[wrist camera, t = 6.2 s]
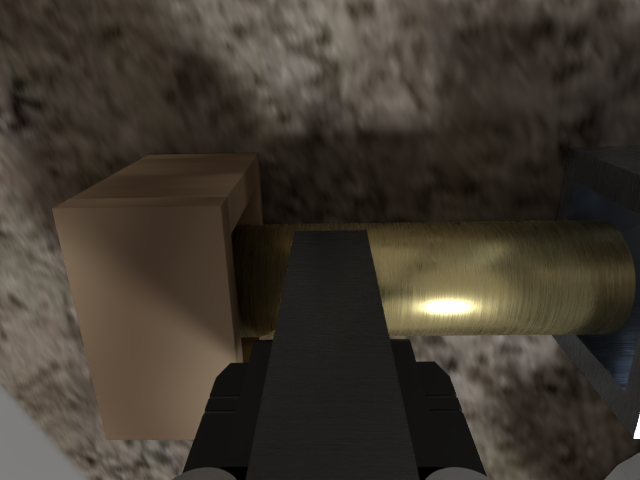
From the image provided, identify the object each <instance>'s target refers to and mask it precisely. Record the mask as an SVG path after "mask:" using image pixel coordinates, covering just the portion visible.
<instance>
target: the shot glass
mask: <svg viewBox="0 0 640 480" xmlns="http://www.w3.org/2000/svg"><path fill="white" fill-rule="evenodd" d="M604 480H640V453H638V454H636V455H634V456H632V457H631V458H629V459H627V460H625V461H624V462H622V463H620V464H618V465H617V466H616V467H615V468H614V469H613V471H612V472H611V473H610V474H609V475H608V476H607V477H606V478H605V479H604Z"/></svg>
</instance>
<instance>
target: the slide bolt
mask: <svg viewBox="0 0 640 480" xmlns="http://www.w3.org/2000/svg"><path fill="white" fill-rule="evenodd" d="M231 239H232V250H233V261H234V271H235V282H236V292H237V303H238V313H239V324H240V334H241V337H274V338H273V343H272V348H271V353H270V358H269V363H268V368H267V373H266V378H265V383H264V389H263V394H262V399H261V404H260V409H259V414H258V419H257V424H256V429H255V434H254V440H253V445H252V450H251V455H250V460H249V465H248V470H247V475H246V480H420V479H419V474H418V470H417V465H416V460H415V455H414V451H413V446H412V441H411V437H410V432H409V427H408V422H407V418H406V413H405V408H404V404H403V399H402V394H401V389H400V385H399V380H398V375H397V371H396V366H395V361H394V356H393V352H392V347H391V342H390V338H389V336H461V335H591V334H612V333H614V332H616V331H618V330H619V329H620V328H621V327H622V326H623V325H624V324H625V322H626V321H627V319H628V317H629V315H630V312H631V310H632V306H633V302H634V297H635V282H636V280H635V269H634V263H633V258H632V255H631V252H630V249H629V246H628V244H627V242H626V240H625V238H624V236H623V235H622V234H621V232H620V231H619V230H618V229H617V228H616V227H615V226H614V225H613V224H611V223H610V222H608V221H605V220H554V221H480V222H406V223H331V224H257V225H236V226H235V228H234V229H233V231H232V233H231Z"/></svg>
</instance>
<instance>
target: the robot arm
mask: <svg viewBox="0 0 640 480" xmlns="http://www.w3.org/2000/svg"><path fill="white" fill-rule="evenodd" d="M390 342H391V347H392V352H393V356H394V361H395V366H396V371H397V375H398V380H399V385H400V389H401V394H402V399H403V404H404V408H405V413H406V418H407V422H408V427H409V432H410V437H411V441H412V446H413V451H414V455H415V460H416V465H417V470H418V474H419V479H420V480H491V479H490V478H488V477H487V475H486V473H485V470H484V468H483V465H482V462H481V460H480V457H479V454H478V452H477V449H476V446H475V443H474V441H473V438H472V435H471V433H470V430H469V427H468V425H467V422H466V419H465V417H464V414H463V413H462V408H461V406H460V403H459V400H458V398H456V392H455V390H454V387H453V384H452V382H451V379H450V376H449V375H448V374H446V373H445V372H444V371H443V370H442V369H441V368H440V367H439V366H438V365H437V364H436V363H435V362H416V360H415V356H414V353H413V349H412V346H411V342H410V340H409V339H390ZM272 343H273V340H255V341H254V343H253V347H252V351H251V354H250V358H249V362H248V363H230V364H229V365H228V366H227V367H226V368H225V369H224V370H223V371H222V372H221V373H220V374H219V375H218V376H217V377H216V379H215V381H214V384H213V387H212V390H211V393H210V399H208V402H207V404H206V407H205V412H204V414H203V416H202V419H201V422H200V424H199V427H198V430H197V433H196V436H195V439H194V442H193V444H192V447H191V450H190V453H189V456H188V459H187V462H186V464H185V467H184V470H183V473H182V474H181V475H179V476H177V477H175V478H174V479H172V480H246V475H247V470H248V465H249V460H250V455H251V450H252V445H253V440H254V434H255V429H256V424H257V419H258V414H259V409H260V404H261V399H262V394H263V389H264V383H265V378H266V373H267V368H268V363H269V358H270V353H271V348H272Z"/></svg>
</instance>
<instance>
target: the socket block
mask: <svg viewBox="0 0 640 480" xmlns="http://www.w3.org/2000/svg"><path fill="white" fill-rule="evenodd" d="M52 212H53V217H54V221H55V225H56V229H57V233H58V238H59V242H60V246H61V250H62V255H63V259H64V263H65V267H66V271H67V276H68V280H69V284H70V288H71V292H72V297H73V301H74V305H75V309H76V314H77V318H78V322H79V326H80V330H81V335H82V339H83V343H84V347H85V352H86V356H87V360H88V364H89V368H90V373H91V377H92V381H93V385H94V390H95V394H96V398H97V402H98V406H99V411H100V415H101V419H102V423H103V428H104V432H105V436H106V440H194V439H195V436H196V433H197V430H198V427H199V424H200V422H201V419H202V416H203V414H204V412H205V407H206V404H207V402H208V399H210V393H211V390H212V387H213V384H214V381H215V379H216V377H217V376H218V375H219V374H220V373H221V372H222V371H223V370H224V369H225V368H226V367H227V366H228V365H229V364H230V363H248V362H249V358H250V354H251V351H252V347H253V343H254V341H255V340H266V338H267V337H241V334H240V324H239V313H238V303H237V292H236V282H235V271H234V261H233V250H232V239H231V233H232V231H233V229H234V228H235V226H236V225H257V224H263V211H262V196H261V182H260V167H259V153H221V154H163V155H147V156H145V157H143V158H141V159H140V160H138V161H136V162H134V163H132V164H131V165H129V166H127V167H125V168H123V169H122V170H120V171H118V172H116V173H114V174H113V175H111V176H109V177H107V178H105V179H104V180H102V181H100V182H98V183H97V184H95V185H93V186H91V187H89V188H88V189H86V190H84V191H82V192H80V193H79V194H77V195H75V196H73V197H71V198H70V199H68V200H66V201H64V202H62V203H61V204H59V205H57V206H55V207H53V208H52Z"/></svg>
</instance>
